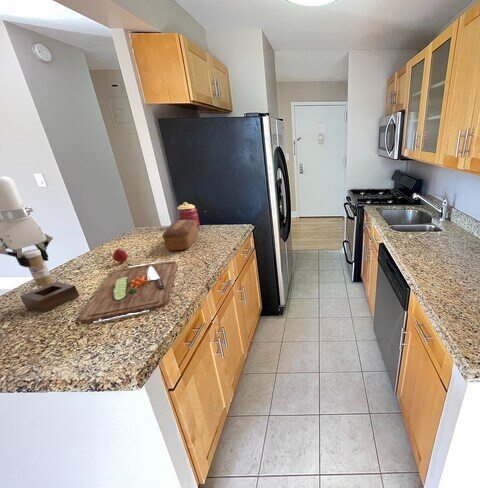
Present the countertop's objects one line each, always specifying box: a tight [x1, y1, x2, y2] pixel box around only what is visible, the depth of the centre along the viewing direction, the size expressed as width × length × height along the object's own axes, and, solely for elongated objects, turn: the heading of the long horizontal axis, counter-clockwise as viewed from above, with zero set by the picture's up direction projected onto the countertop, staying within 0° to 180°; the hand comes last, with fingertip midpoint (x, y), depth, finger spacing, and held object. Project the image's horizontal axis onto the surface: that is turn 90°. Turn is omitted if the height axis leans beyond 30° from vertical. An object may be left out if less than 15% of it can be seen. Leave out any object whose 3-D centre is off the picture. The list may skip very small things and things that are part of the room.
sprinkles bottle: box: [22, 248, 54, 287], centre depth 95 cm, size 5×5×13 cm
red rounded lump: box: [112, 248, 129, 264], centre depth 130 cm, size 6×6×8 cm
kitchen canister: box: [176, 201, 201, 228], centre depth 183 cm, size 13×13×18 cm
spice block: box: [19, 281, 80, 313], centre depth 99 cm, size 11×11×5 cm
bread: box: [162, 219, 199, 251], centre depth 154 cm, size 14×28×12 cm, turn 12°
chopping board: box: [78, 260, 178, 325], centre depth 109 cm, size 45×27×3 cm, turn 22°
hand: (35, 262), depth 94 cm, fingers closed on sprinkles bottle, 4 cm apart
